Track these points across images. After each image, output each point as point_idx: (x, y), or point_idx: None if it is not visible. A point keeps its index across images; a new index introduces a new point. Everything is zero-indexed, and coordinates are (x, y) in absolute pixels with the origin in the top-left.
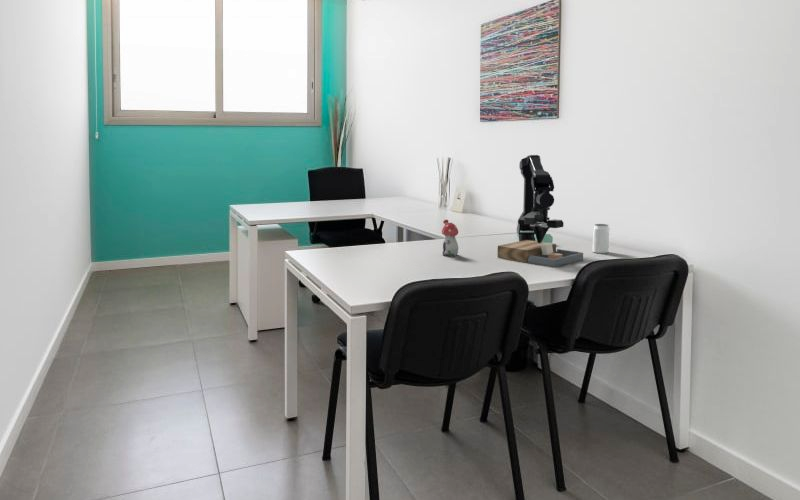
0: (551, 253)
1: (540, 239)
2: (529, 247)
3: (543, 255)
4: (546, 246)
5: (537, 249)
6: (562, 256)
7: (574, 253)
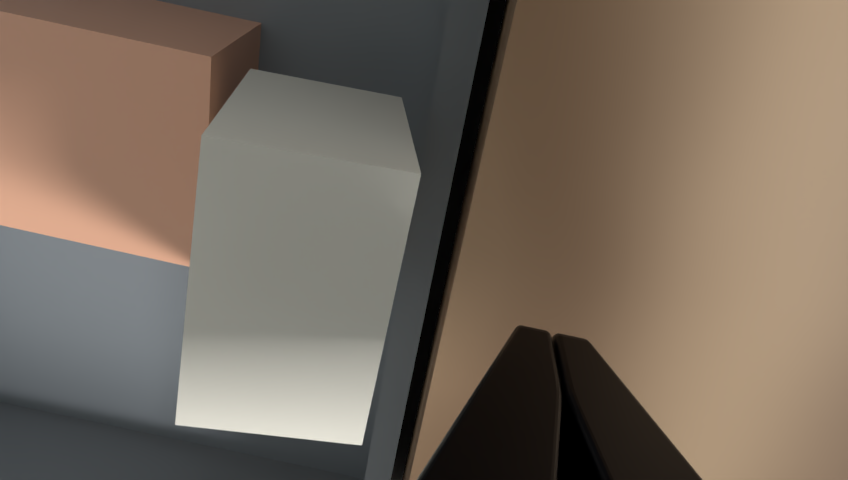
0: None
1: (475, 399)
2: (796, 20)
3: (420, 169)
4: (207, 153)
5: (501, 56)
6: (253, 441)
7: (15, 468)
